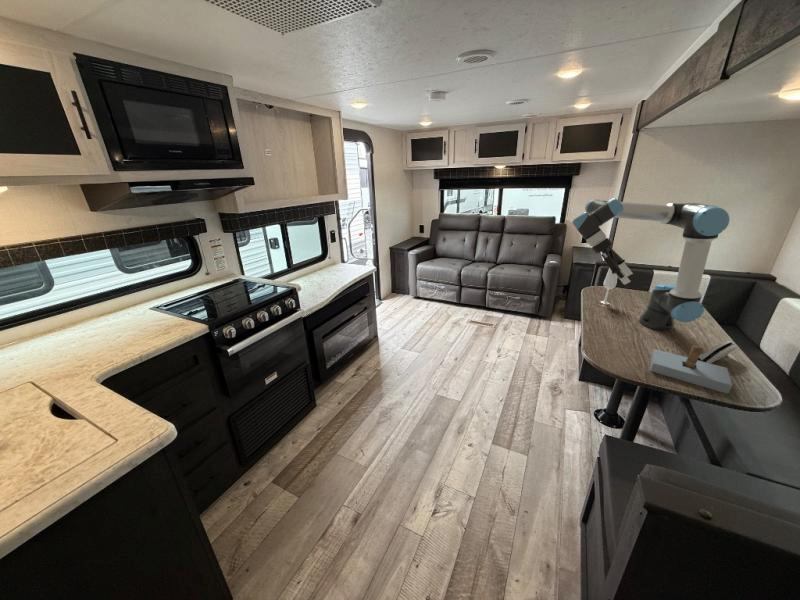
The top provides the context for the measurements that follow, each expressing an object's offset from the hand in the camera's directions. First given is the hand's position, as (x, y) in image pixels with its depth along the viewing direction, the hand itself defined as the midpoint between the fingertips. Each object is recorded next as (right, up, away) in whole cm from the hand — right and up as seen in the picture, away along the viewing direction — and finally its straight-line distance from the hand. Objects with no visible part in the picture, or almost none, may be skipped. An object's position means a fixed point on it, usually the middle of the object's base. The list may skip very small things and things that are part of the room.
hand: (628, 279), depth 143 cm
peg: (+15, -41, -12) cm, 45 cm away
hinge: (+38, -37, -2) cm, 52 cm away
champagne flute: (+24, -12, +54) cm, 60 cm away
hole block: (+16, -41, -12) cm, 45 cm away
